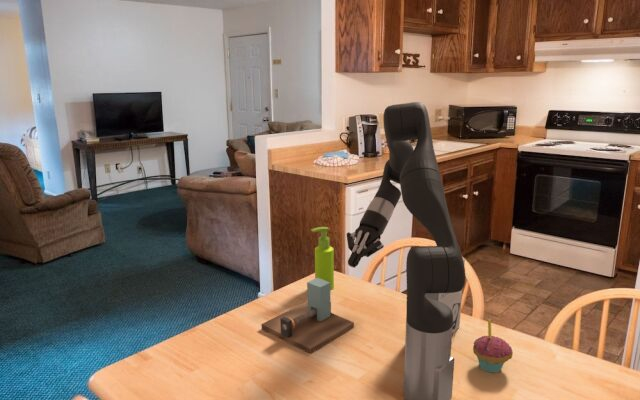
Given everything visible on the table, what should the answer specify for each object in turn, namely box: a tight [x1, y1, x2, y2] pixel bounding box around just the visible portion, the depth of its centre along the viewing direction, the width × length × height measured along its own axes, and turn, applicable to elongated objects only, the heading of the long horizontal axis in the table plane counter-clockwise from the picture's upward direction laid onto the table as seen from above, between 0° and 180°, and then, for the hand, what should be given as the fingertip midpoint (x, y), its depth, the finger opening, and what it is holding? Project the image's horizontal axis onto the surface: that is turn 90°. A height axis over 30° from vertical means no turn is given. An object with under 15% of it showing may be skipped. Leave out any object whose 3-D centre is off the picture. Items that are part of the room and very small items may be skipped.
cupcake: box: [472, 316, 513, 374], centre depth 111 cm, size 9×8×12 cm
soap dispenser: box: [310, 226, 335, 291], centre depth 152 cm, size 6×7×20 cm
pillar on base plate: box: [261, 301, 355, 355], centre depth 130 cm, size 18×17×6 cm
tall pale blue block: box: [306, 277, 332, 322], centre depth 132 cm, size 5×4×10 cm
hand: (351, 265), depth 140 cm, fingers closed
